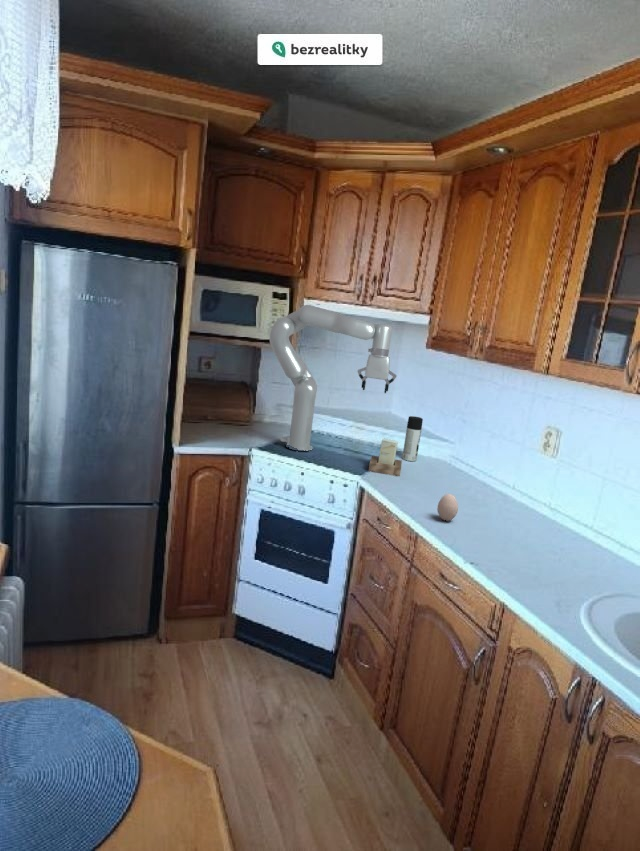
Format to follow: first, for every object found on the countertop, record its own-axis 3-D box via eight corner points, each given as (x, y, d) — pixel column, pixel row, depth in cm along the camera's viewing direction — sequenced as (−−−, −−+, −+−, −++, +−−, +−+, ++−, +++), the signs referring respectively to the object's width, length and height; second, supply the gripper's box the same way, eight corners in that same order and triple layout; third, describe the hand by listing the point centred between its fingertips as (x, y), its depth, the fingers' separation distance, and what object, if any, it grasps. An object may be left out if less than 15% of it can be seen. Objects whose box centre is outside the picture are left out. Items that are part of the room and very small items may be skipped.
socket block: (368, 471, 237) (369, 463, 236) (370, 463, 249) (372, 455, 249) (399, 476, 235) (401, 468, 234) (400, 468, 248) (401, 460, 247)
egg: (442, 524, 187) (447, 498, 185) (431, 516, 192) (436, 491, 191) (459, 523, 189) (464, 497, 187) (448, 516, 195) (452, 490, 193)
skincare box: (377, 467, 241) (381, 439, 239) (379, 465, 245) (383, 437, 243) (391, 470, 239) (395, 442, 237) (393, 468, 243) (398, 440, 241)
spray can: (417, 462, 261) (424, 420, 257) (402, 460, 261) (409, 418, 257) (415, 458, 267) (422, 417, 263) (401, 456, 267) (407, 415, 263)
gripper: (359, 350, 247) (354, 389, 250) (399, 356, 245) (393, 395, 248) (361, 349, 254) (355, 387, 258) (399, 354, 252) (394, 393, 255)
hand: (374, 391), depth 253 cm, fingers open, 9 cm apart
